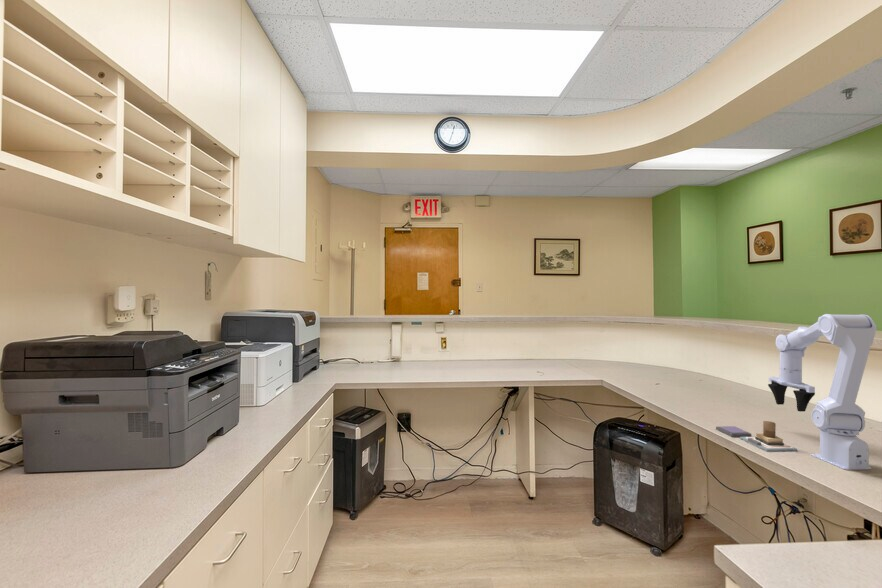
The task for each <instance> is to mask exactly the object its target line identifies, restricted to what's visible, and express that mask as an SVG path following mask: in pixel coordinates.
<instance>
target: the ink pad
mask: <svg viewBox="0 0 882 588" xmlns="http://www.w3.org/2000/svg"><path fill="white" fill-rule="evenodd" d="M715 430H717V431H719V432H721V433H723V434H725V435H727V436H729V437H732V438H740V437H752V433H751V432H748V431H747V430H743V429H742V428H740V427H737V426H734V425H732V426H728V425H727V426H723V425H722V426H716V427H715Z"/></svg>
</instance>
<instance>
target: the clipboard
mask: <svg viewBox="0 0 882 588" xmlns="http://www.w3.org/2000/svg"><path fill="white" fill-rule="evenodd" d="M755 437H756V436H751V437H739V439H740V440H742V441H744V442H746V443H748V444H750V445H753V446H754V447H756V448H759V449H761V450H762V451H765V452H798V448H796V447H794V446H791V445H789V444H786V443H785V442H783V443H784V446H780V445H766V444H764V443H762V442H760V441H758V440H756V439H755Z"/></svg>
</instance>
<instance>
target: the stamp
mask: <svg viewBox="0 0 882 588" xmlns="http://www.w3.org/2000/svg"><path fill="white" fill-rule="evenodd" d="M762 426H763V428H762V430H763V431H762V432H761V433H756V435H755V436H754V437H755V439H756V440H758V441H760V442H762V443H764V444H766V445H780V446H784V443H785V442H784V439H783V438H782V437H779V436H777V435H776V428H777V427H776V422H774V421H769V420H768V421H767V420H763V424H762Z"/></svg>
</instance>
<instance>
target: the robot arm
mask: <svg viewBox="0 0 882 588" xmlns="http://www.w3.org/2000/svg"><path fill="white" fill-rule="evenodd" d="M877 328H878V327H877V325H876V323H875V321H874V320H873V319H872V317H871V316H870V315H867V314H862V313H861V314H830V313H825V314H822V315H821V316H818V318H817V321H816V322H815V323H813V324H812V325H810V326H801V325H800V326H798V327H797V329H796V330H794V331H790V332H789V333H788V334H780V333H779V334H778V335H777V336H776V338H775V346H776V347H775V348H776V349H777V350H778V352H779V377H776V376H768V384H767V386H768V388H769V389H770V390H771V392H772V394H773V398H774V401H775V402H776V403H775V404H776V405H782V406H783V405H785V404H784V403H785V400H786V399H785V398H786V397H785V396H786V391H787V388H788V387H789V388H793V389H794V390H792V392H793V394H794V396H795V399H796V410H797V412H806V410H807V408H808V405H809V403H810V401H811V400H812V398H813V397H814V396H815V395H816V391H815V390H816V388H815V386H812V385H809V384H807V383H804V382H803V358H804V356H805V351H806V350H807V347H809V346H810V345H812V344H814V343H817V342H818V341H819V337H822V336H824V337H825V338H826V339H827V340H828V341H829V343H831V345H833V346H836V347H838V348H839V353H838V357H837V361H836V365H835V370H834V374H833V378H832V380H831V386H830V388H829V393H828V396H827V397H826V398H824V399H821V400H819V401H816V405H815V407H813V409H812V411H811V415H810V418H811V421H812V423H813V424H814V425H815V426H816V428H817V429H818V430H819V453H811V456H812V457H814V458H817V459H819V460H821V461H824V462H825V463H829V464H830V465H833V466H835V467H837V468H840V469H842V470H845V471H846V470H847V471H852V470H853V471H854V470H855V471H857V470H858V471H859V470H861V471H862V470H872V467H870V465H869V460H870V459H869V458H870V456H869V455H870V452H869V451H870V450H869V445H868V443H867V442H866V441H865V440H863V439H861V438H860V437H858V436H859V435H860V432H862V431H864V429H865V427H866V419H865V415H866V411H865V410H864V409H863V408H862V407H861V406H859V405H858V404H856V401H857V397H858V394H859V390H860V386H861V383H862V379H863V376H864V372H865V370H866V369H865V368H866V365H867V362H868V358H869V354H870V351H871V350H870V349H871V346H873V343H874V339H875V336H876V332H877ZM795 389H796V390H795Z"/></svg>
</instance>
